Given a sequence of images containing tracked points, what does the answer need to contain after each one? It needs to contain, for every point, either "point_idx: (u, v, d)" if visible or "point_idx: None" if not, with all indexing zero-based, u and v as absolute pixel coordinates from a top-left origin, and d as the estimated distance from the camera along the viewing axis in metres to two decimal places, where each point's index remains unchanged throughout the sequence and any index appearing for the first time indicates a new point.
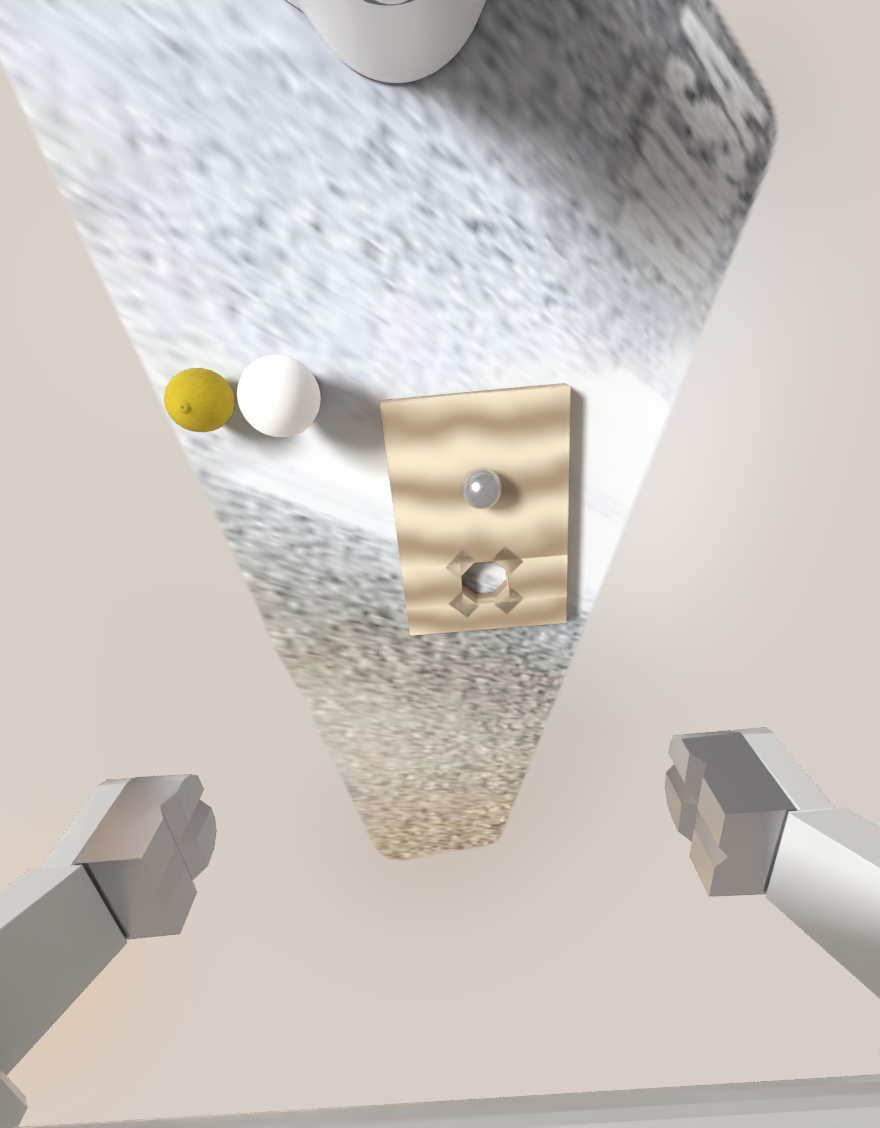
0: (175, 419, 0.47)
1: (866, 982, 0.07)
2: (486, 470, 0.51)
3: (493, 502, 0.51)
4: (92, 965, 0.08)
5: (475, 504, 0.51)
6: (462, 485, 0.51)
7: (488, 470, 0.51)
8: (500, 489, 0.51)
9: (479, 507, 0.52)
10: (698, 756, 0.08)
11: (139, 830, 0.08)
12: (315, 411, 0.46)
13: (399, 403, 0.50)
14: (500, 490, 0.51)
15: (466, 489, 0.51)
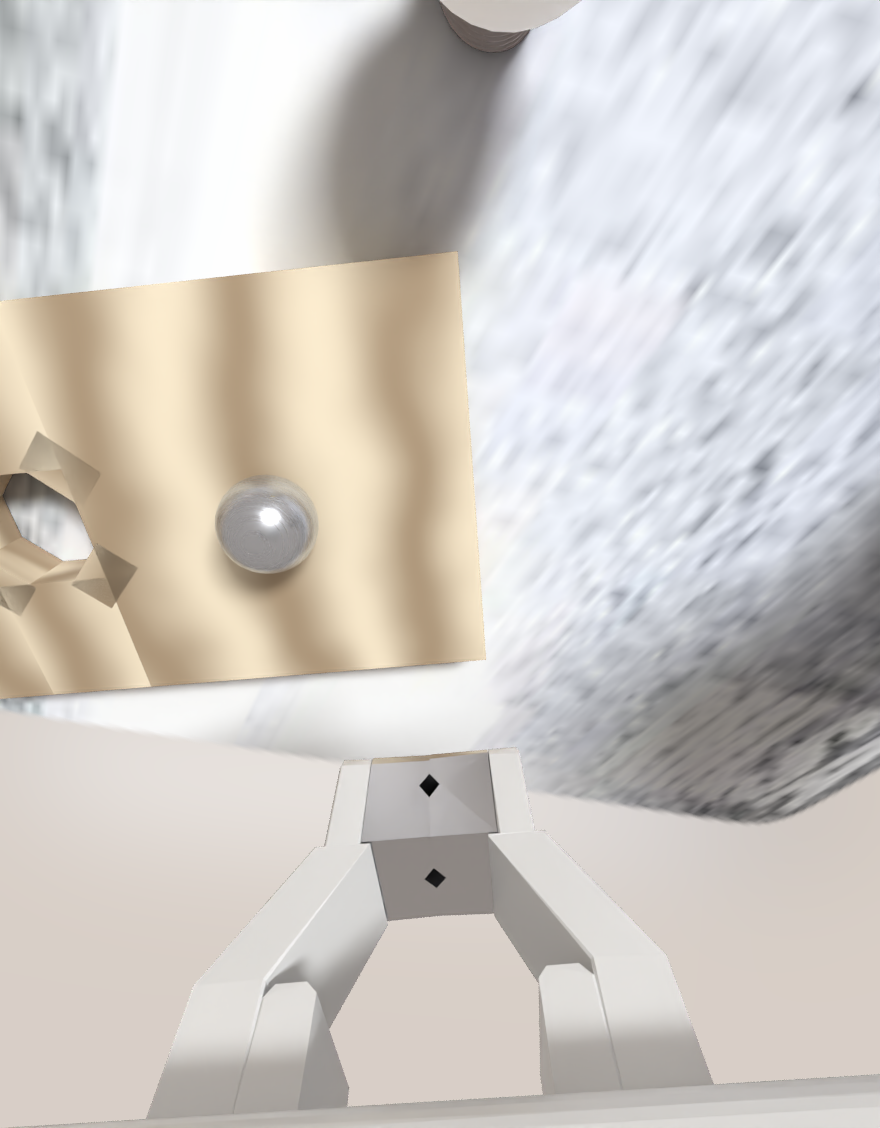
0: None
1: None
2: (314, 536, 0.21)
3: (237, 563, 0.21)
4: (368, 945, 0.08)
5: (224, 522, 0.20)
6: (269, 483, 0.20)
7: (314, 540, 0.22)
8: (272, 573, 0.22)
9: (218, 531, 0.20)
10: (437, 777, 0.08)
11: (410, 809, 0.08)
12: None
13: (458, 308, 0.20)
14: (270, 573, 0.22)
15: (259, 499, 0.20)
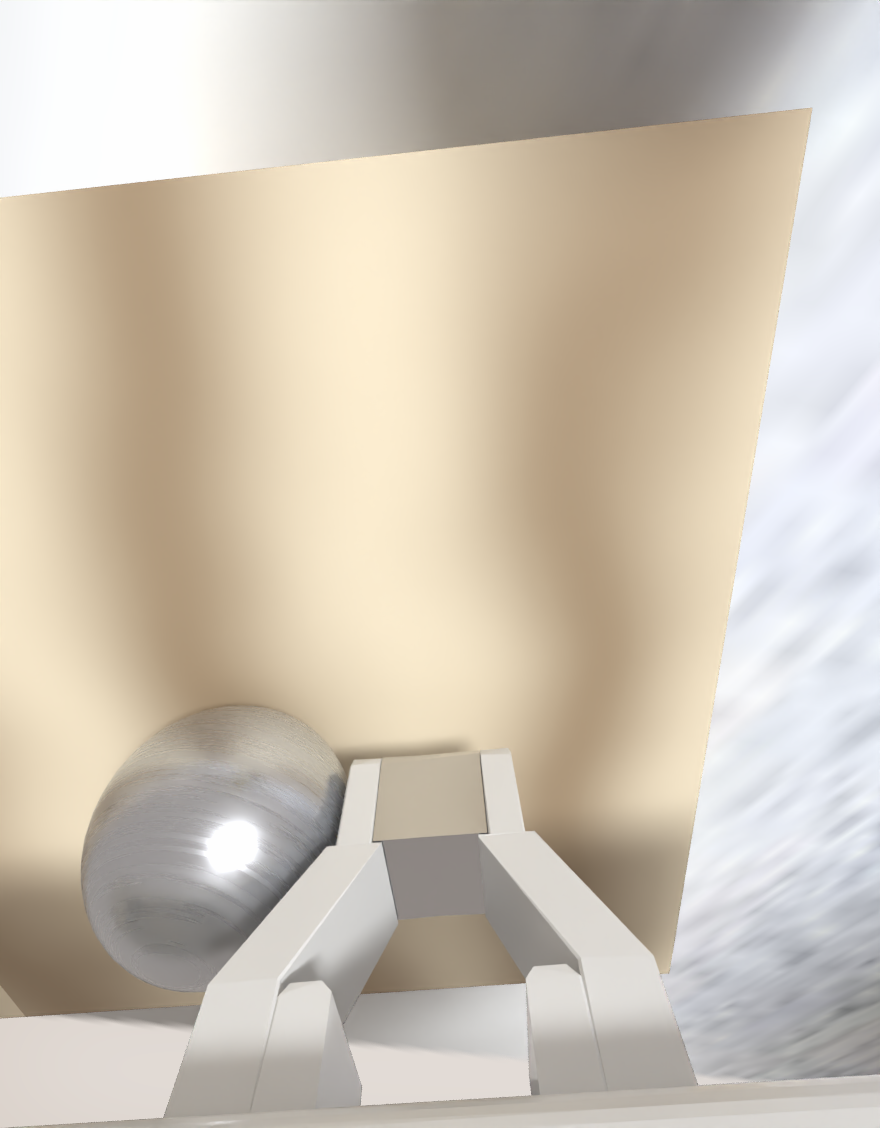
0: None
1: None
2: None
3: None
4: (379, 945, 0.08)
5: (91, 895, 0.07)
6: (223, 773, 0.07)
7: None
8: None
9: None
10: (428, 777, 0.08)
11: (421, 808, 0.08)
12: None
13: (775, 286, 0.07)
14: None
15: (186, 846, 0.07)
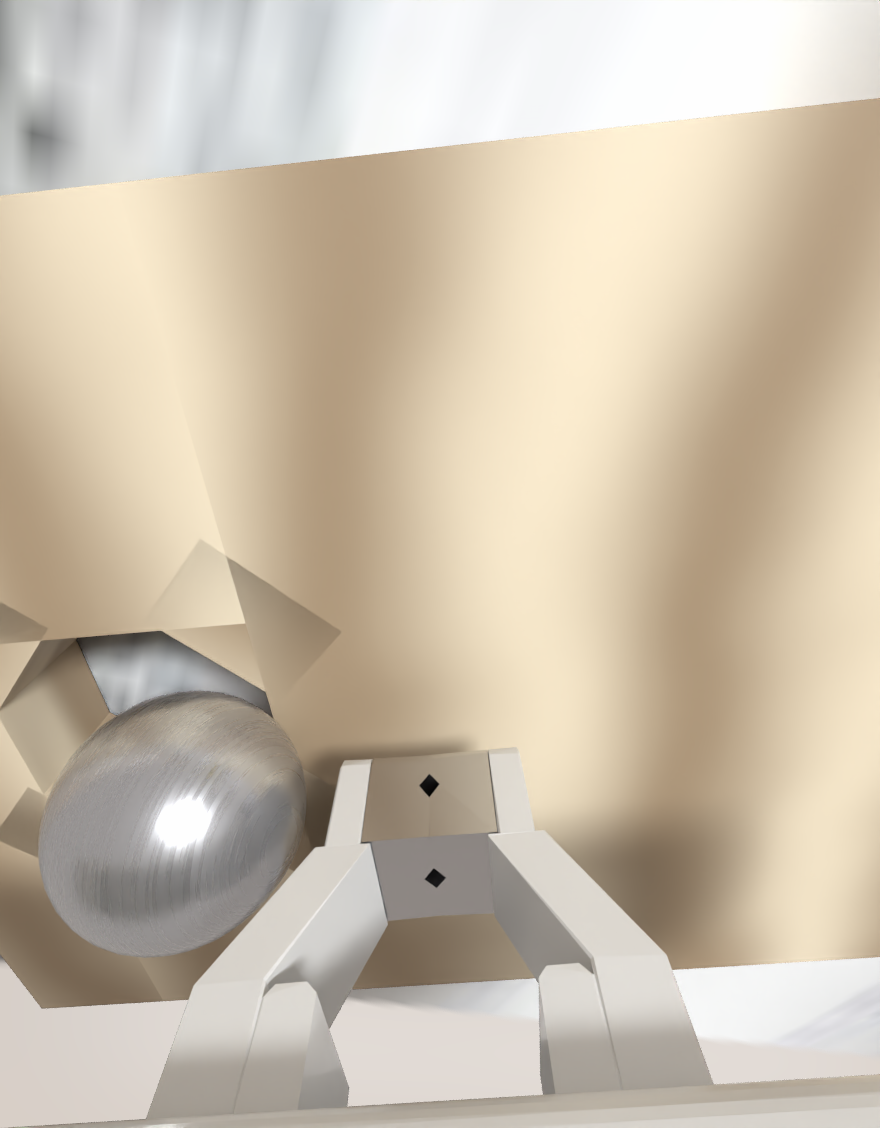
0: None
1: None
2: None
3: (218, 936, 0.08)
4: (368, 945, 0.08)
5: (195, 859, 0.07)
6: (204, 708, 0.09)
7: None
8: None
9: (166, 903, 0.07)
10: (437, 777, 0.08)
11: (410, 809, 0.08)
12: None
13: None
14: None
15: (241, 745, 0.08)
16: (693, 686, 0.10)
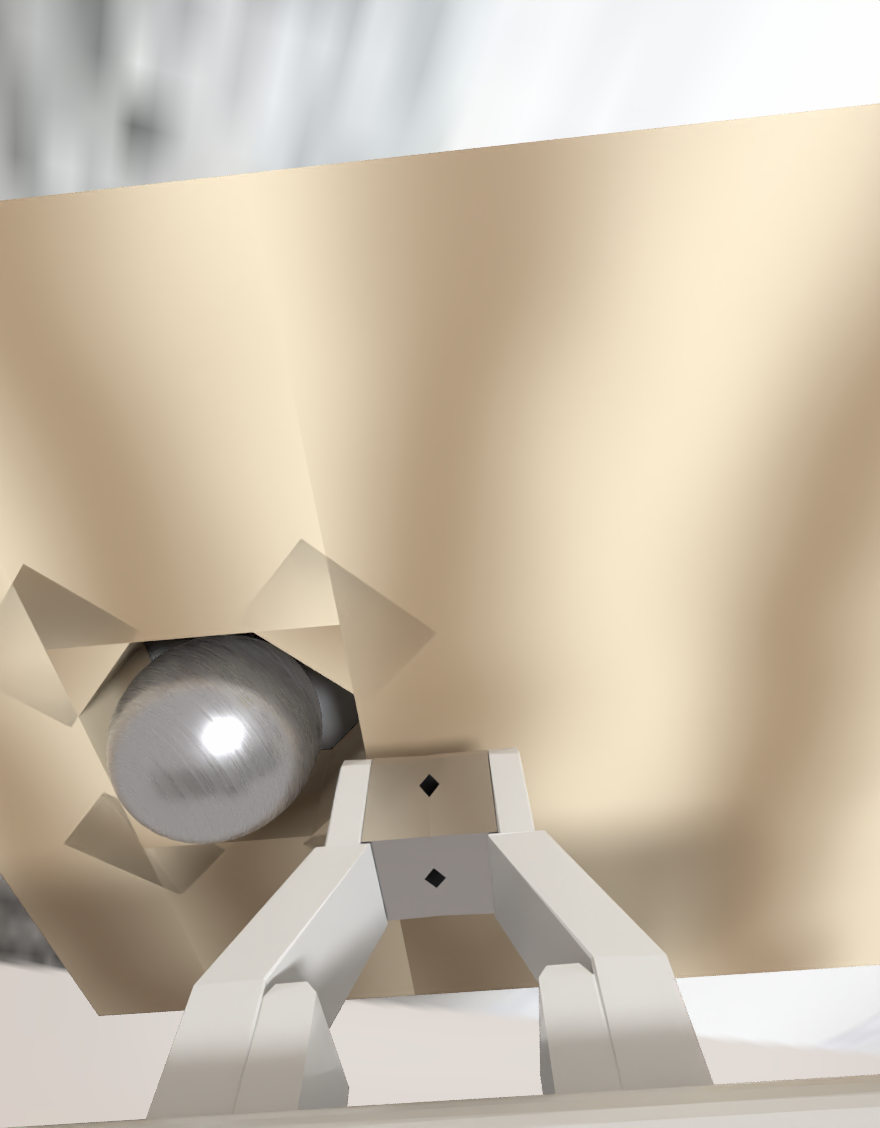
0: None
1: None
2: (279, 801, 0.10)
3: None
4: (368, 945, 0.08)
5: None
6: (196, 684, 0.09)
7: (283, 803, 0.10)
8: None
9: None
10: (437, 777, 0.08)
11: (410, 809, 0.08)
12: None
13: None
14: None
15: (152, 726, 0.09)
16: (787, 688, 0.10)
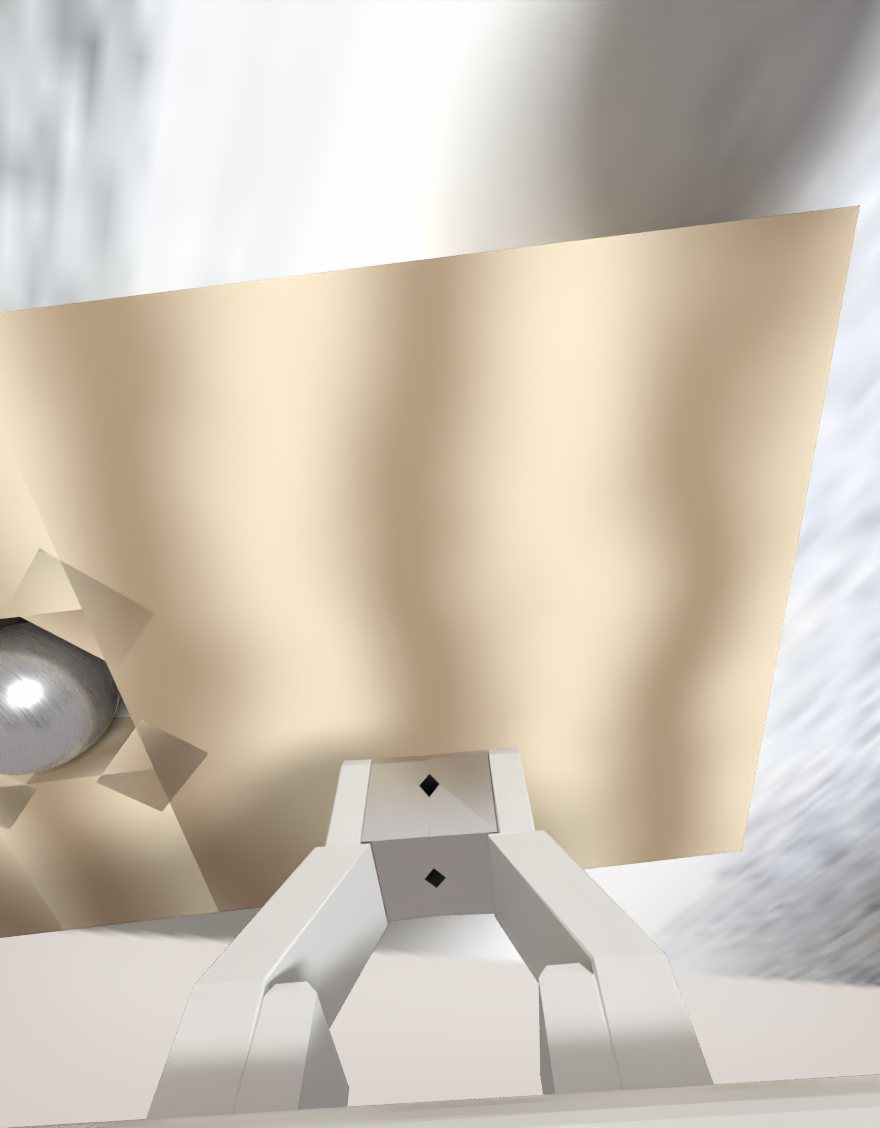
0: None
1: None
2: (79, 732, 0.14)
3: None
4: (368, 945, 0.08)
5: None
6: (2, 652, 0.13)
7: (84, 735, 0.14)
8: None
9: None
10: (437, 777, 0.08)
11: (410, 809, 0.08)
12: None
13: (835, 314, 0.11)
14: None
15: None
16: (422, 645, 0.14)
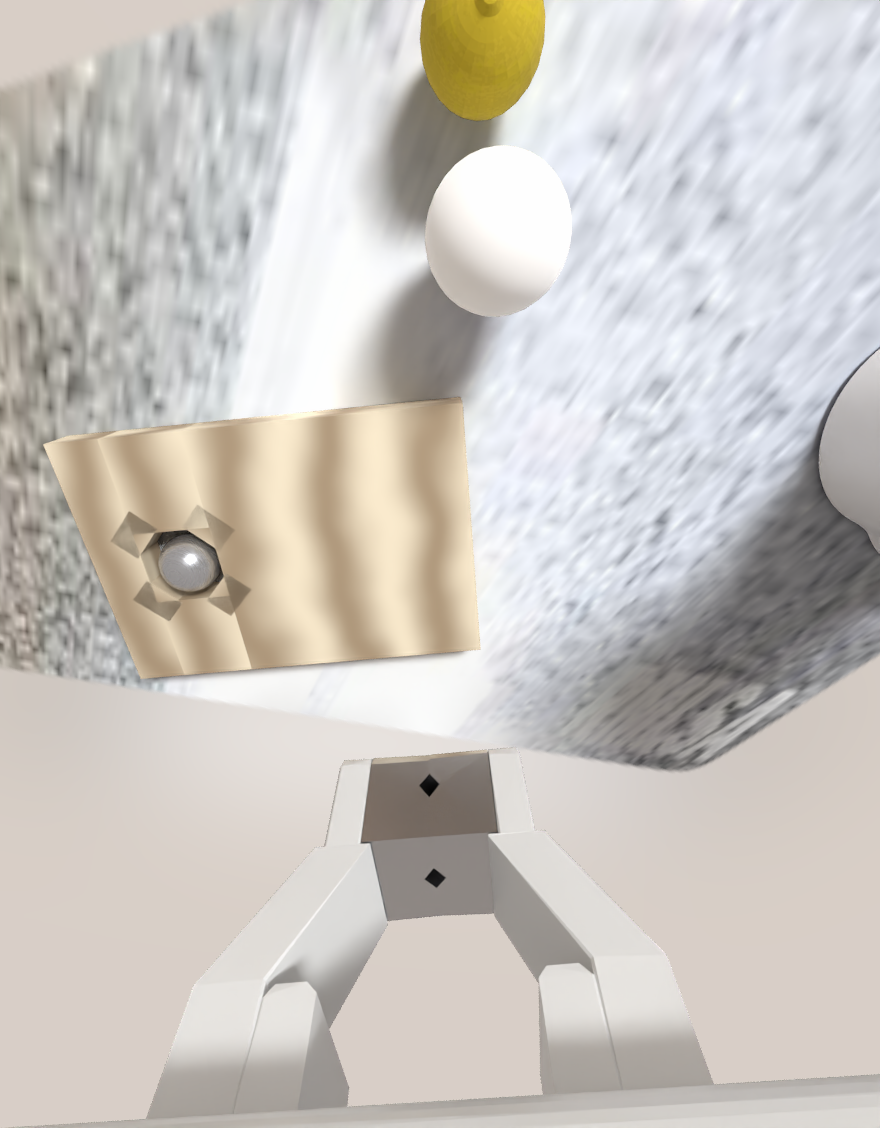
0: None
1: None
2: (214, 572, 0.37)
3: (169, 584, 0.37)
4: (368, 945, 0.08)
5: (160, 562, 0.36)
6: (187, 541, 0.36)
7: (215, 574, 0.37)
8: (190, 591, 0.37)
9: (159, 566, 0.36)
10: (437, 777, 0.08)
11: (410, 809, 0.08)
12: (473, 311, 0.26)
13: (463, 434, 0.33)
14: (189, 591, 0.37)
15: (178, 551, 0.35)
16: (333, 546, 0.36)
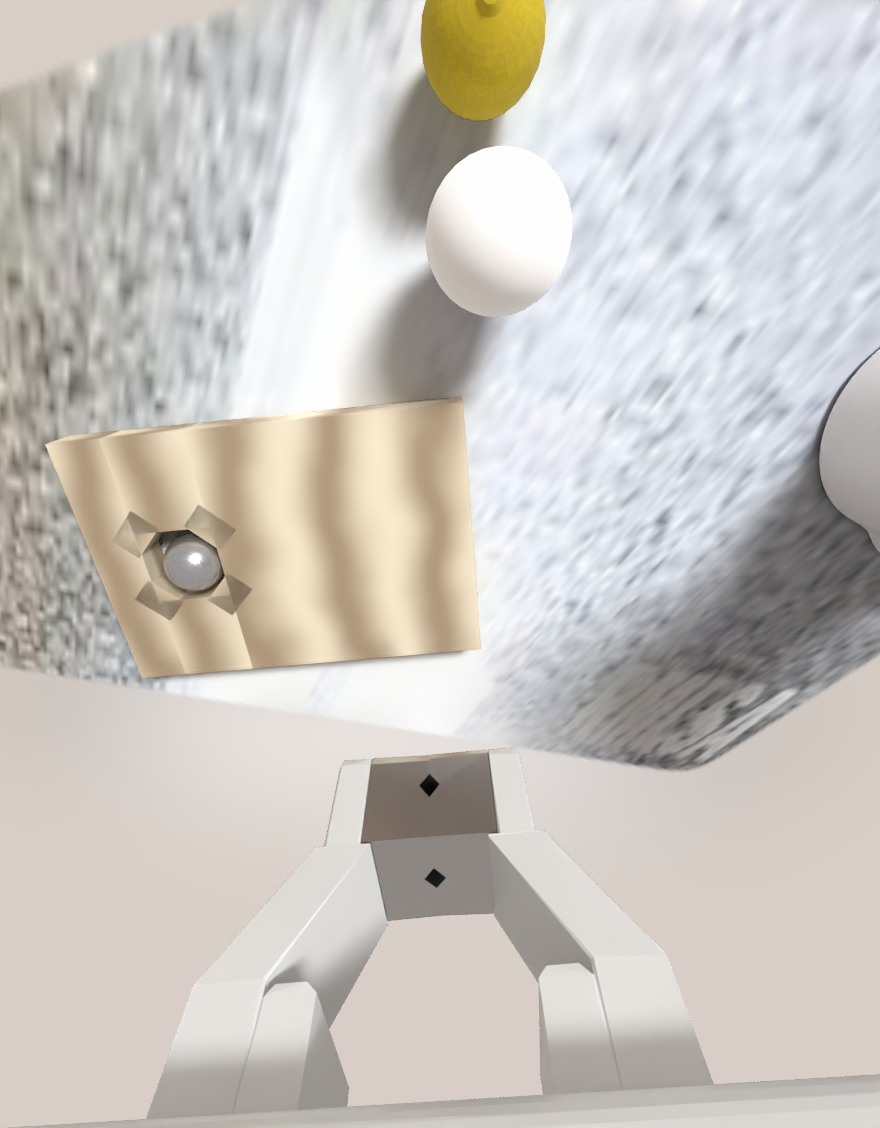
0: None
1: None
2: (221, 570, 0.37)
3: (175, 584, 0.37)
4: (368, 945, 0.08)
5: (166, 562, 0.36)
6: (193, 540, 0.36)
7: (221, 572, 0.37)
8: (196, 590, 0.37)
9: (164, 566, 0.36)
10: (437, 777, 0.08)
11: (410, 809, 0.08)
12: (473, 311, 0.26)
13: (463, 434, 0.33)
14: (195, 590, 0.37)
15: (185, 550, 0.35)
16: (334, 546, 0.36)
